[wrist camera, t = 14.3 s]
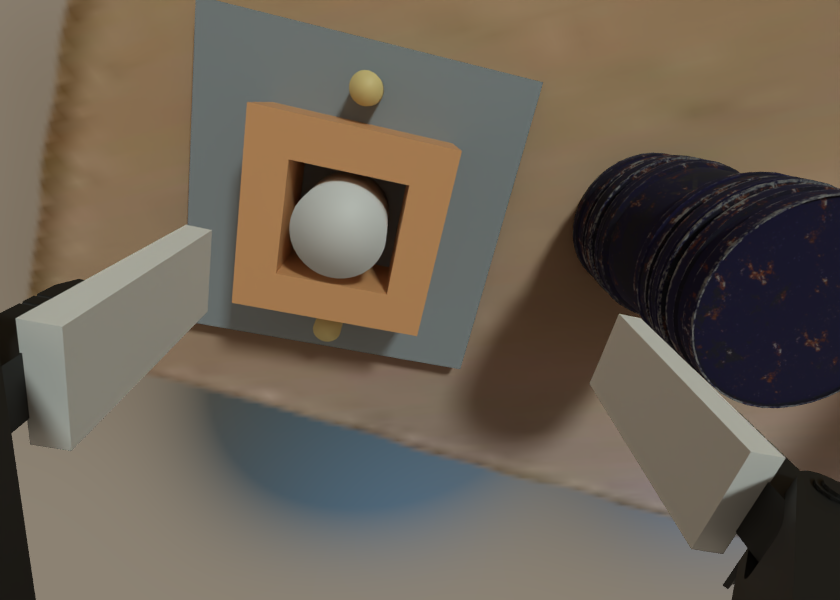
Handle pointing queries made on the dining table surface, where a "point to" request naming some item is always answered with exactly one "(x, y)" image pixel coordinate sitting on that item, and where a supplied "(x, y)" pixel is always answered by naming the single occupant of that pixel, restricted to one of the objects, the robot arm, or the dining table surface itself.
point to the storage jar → (723, 270)
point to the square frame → (281, 191)
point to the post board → (407, 108)
